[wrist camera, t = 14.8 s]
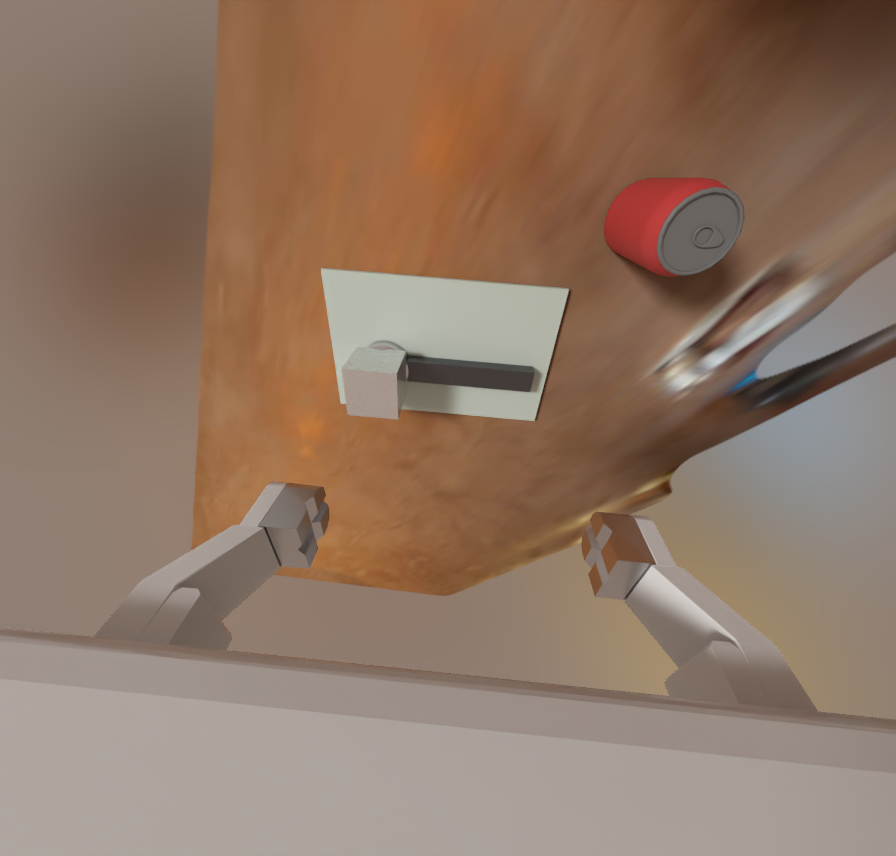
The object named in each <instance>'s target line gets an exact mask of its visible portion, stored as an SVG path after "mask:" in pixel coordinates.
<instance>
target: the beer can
mask: <svg viewBox="0 0 896 856" xmlns="http://www.w3.org/2000/svg"><path fill="white" fill-rule="evenodd" d="M743 222H744V206H743V204H742V202H741V200H740V198H739V196H738V195H737V194H735V193H734V192H732V191H731V190H730V189H729V188H727V187H726V186H724V185H723V184H721V183H720V182H718V181H717V180H714V179H706V178H649V179H645V180H640V181H637V182H635V183H633V184H632V185H630V186H628V187H627V188H625V189H624V190H623V191H622V192H621V193H620V194H619V195H618V196H617V197H616V198H615V200H614V202H613V203H612V205H611V206H610V208H609V210H608V213H607V216H606V219H605V226H604V234H605V238H606V242H607V244H608V245H609V247H610V248H611V249H612V251H614V252H616V253H617V254H619V255H621V256H623V257H625V258H627V259H629V260H631V261H632V262H634V263H636V264H638V265H640V266H642V267H644V268H646V269H648V270H650V271H651V272H653V273H655V274H657V275H663V276H670V277H674V276H680V275H682V276H687V275H693V274H698V273H700V272H702V271H704V270H707V269H709V268H711V267H712V266H713V265H715V264H716V263H717V262H719V261H720V260H721V259H723V258H724V256H725V255H726V254H727V253H728V252H729V251H730V250H731V248H732V247H733V246H734V244H735V242H736V240H737V239H738V237H739V235H740V233H741V230H742V226H743Z"/></svg>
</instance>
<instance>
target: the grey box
mask: <svg viewBox="0 0 896 856" xmlns="http://www.w3.org/2000/svg"><path fill="white" fill-rule="evenodd" d="M341 370H342V377H343V384H344V392H345V399H346V406H347V413H348V415H355V416H366V417H377V418H388V419H399V416H400V412H401V409H402V406H403V403H404V400H405V397H406V394H407V372H406V351H403V350H391V349H380V348H368V347H357V348H356V349H355V350H354V352H353V353H352V355H351V356H350V357H349V359H348V360H347V361H346V363H345V364H344V366H343V367H342V368H341Z"/></svg>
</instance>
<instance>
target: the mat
mask: <svg viewBox="0 0 896 856" xmlns="http://www.w3.org/2000/svg"><path fill="white" fill-rule="evenodd" d="M321 274H322V280H323V287H324V294H325V300H326V307H327V314H328V320H329V327H330V334H331V341H332V347H333V354H334V361H335V367H336V374H337V381H338V387H339V394H340V401H341V404H346V399H345V392H344V384H343V377H342V370H341V368H342V367H343V366H344V364H345V363H346V361H347V360H348V359H349V357H350V356H351V355H352V353H353V352H354V350H355V349H356V348H357V347H368V346H369V345H370V344H371V343H373V342H375V341H379V340H387V341H392V342H394V343H396V344H398V345H400V346H401V347H402V348H403V349H404V350H405V351H406V353H407V354H408V356H420V357H431V358H443V359H454V360H466V361H477V362H489V363H500V364H512V365H523V366H533V368H534V372H535V374H534V378H533V383H532V387H531V391H530V392H521V391H510V390H499V389H488V388H476V387H465V386H454V385H443V384H431V383H420V382H409V381H407V394H406V397H405V400H404V403H403V406H402V409H407V410H418V411H429V412H440V413H451V414H462V415H473V416H485V417H496V418H507V419H518V420H529V421H535V417H536V413H537V410H538V406H539V402H540V398H541V394H542V391H543V387H544V383H545V379H546V375H547V372H548V368H549V364H550V360H551V356H552V353H553V349H554V345H555V341H556V337H557V334H558V330H559V326H560V322H561V318H562V315H563V311H564V307H565V303H566V299H567V295H568V292H569V289H568V288H560V287H548V286H536V285H524V284H512V283H500V282H488V281H476V280H463V279H451V278H439V277H427V276H415V275H403V274H391V273H379V272H367V271H355V270H343V269H331V268H322V269H321Z"/></svg>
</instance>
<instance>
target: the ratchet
mask: <svg viewBox="0 0 896 856" xmlns="http://www.w3.org/2000/svg"><path fill="white" fill-rule="evenodd" d="M368 348H380V349H391V350H403V351H405V350H404V349H403V348H402V347H401V346H400V345H398V344H396V343H394V342H392V341H387V340H379V341H375V342H373V343H371V344H370V345H369V346H368ZM406 372H407V381H409V382H420V383H431V384H443V385H454V386H465V387H476V388H488V389H499V390H510V391H521V392H530V391H531V387H532V383H533V378H534V374H535V372H534V368H533V366H523V365H512V364H500V363H489V362H477V361H466V360H454V359H443V358H431V357H420V356H408V354H407V353H406Z"/></svg>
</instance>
